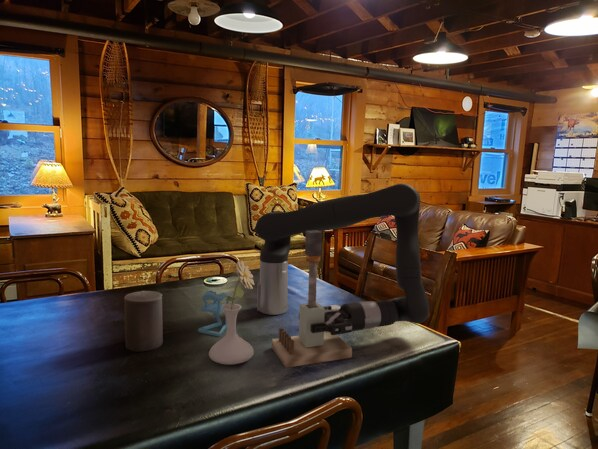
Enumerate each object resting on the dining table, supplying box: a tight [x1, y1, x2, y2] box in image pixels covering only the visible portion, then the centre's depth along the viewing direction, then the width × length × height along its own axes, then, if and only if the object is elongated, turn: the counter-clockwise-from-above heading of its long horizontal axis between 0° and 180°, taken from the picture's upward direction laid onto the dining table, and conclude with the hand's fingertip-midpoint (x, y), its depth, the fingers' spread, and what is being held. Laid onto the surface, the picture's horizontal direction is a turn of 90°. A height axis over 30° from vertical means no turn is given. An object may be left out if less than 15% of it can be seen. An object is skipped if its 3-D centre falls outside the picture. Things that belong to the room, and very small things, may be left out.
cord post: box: [271, 230, 353, 369], centre depth 116 cm, size 18×12×32 cm, turn 111°
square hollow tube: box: [298, 301, 325, 348], centre depth 117 cm, size 5×5×10 cm
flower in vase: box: [208, 260, 255, 365], centre depth 113 cm, size 13×11×25 cm
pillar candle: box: [123, 290, 164, 353], centre depth 120 cm, size 10×10×15 cm
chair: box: [197, 290, 232, 338], centre depth 132 cm, size 8×8×12 cm
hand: (304, 322), depth 116 cm, fingers open, 8 cm apart
